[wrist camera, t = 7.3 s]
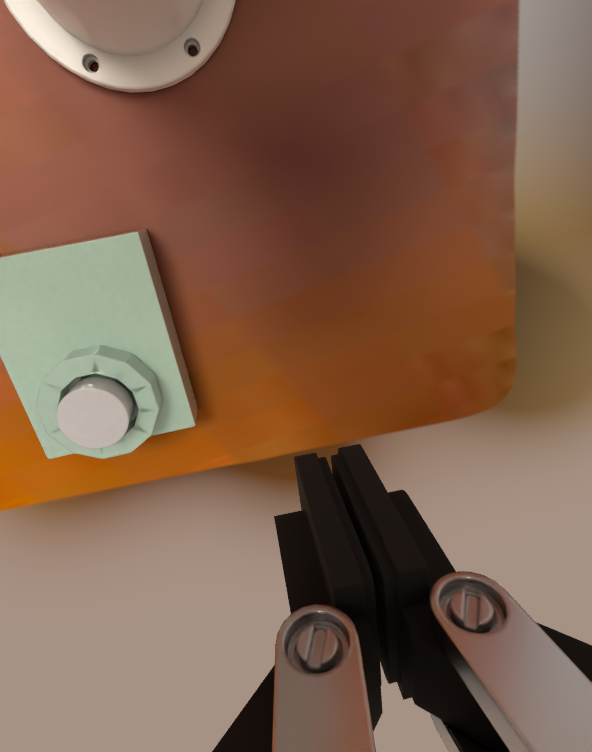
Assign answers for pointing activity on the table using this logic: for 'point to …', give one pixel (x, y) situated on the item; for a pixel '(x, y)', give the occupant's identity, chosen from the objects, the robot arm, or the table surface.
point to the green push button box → (93, 336)
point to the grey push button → (95, 413)
